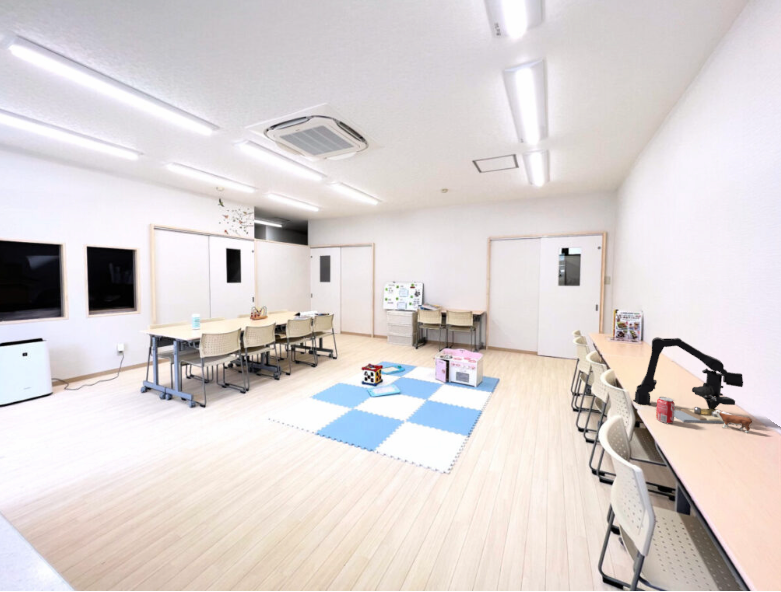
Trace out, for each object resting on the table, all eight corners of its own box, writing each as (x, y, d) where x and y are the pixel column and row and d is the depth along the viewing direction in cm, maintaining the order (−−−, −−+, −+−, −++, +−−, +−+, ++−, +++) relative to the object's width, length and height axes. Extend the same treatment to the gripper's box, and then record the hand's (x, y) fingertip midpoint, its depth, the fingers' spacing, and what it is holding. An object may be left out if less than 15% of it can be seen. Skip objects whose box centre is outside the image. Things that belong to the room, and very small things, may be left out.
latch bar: (696, 414, 171) (697, 408, 171) (692, 412, 173) (693, 406, 173) (721, 415, 170) (721, 409, 170) (716, 413, 173) (717, 407, 172)
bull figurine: (712, 422, 166) (713, 407, 166) (751, 432, 157) (752, 415, 156) (711, 425, 163) (713, 409, 163) (751, 435, 154) (753, 418, 153)
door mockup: (683, 422, 167) (684, 413, 167) (665, 412, 179) (665, 404, 179) (730, 423, 166) (731, 415, 165) (709, 413, 178) (709, 405, 177)
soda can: (670, 420, 169) (672, 397, 168) (675, 425, 163) (677, 402, 162) (653, 417, 172) (655, 395, 171) (658, 422, 166) (659, 399, 165)
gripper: (683, 376, 182) (680, 403, 183) (714, 388, 164) (711, 418, 165) (703, 377, 182) (701, 404, 183) (737, 389, 163) (734, 419, 164)
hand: (711, 411), depth 174 cm, fingers closed
